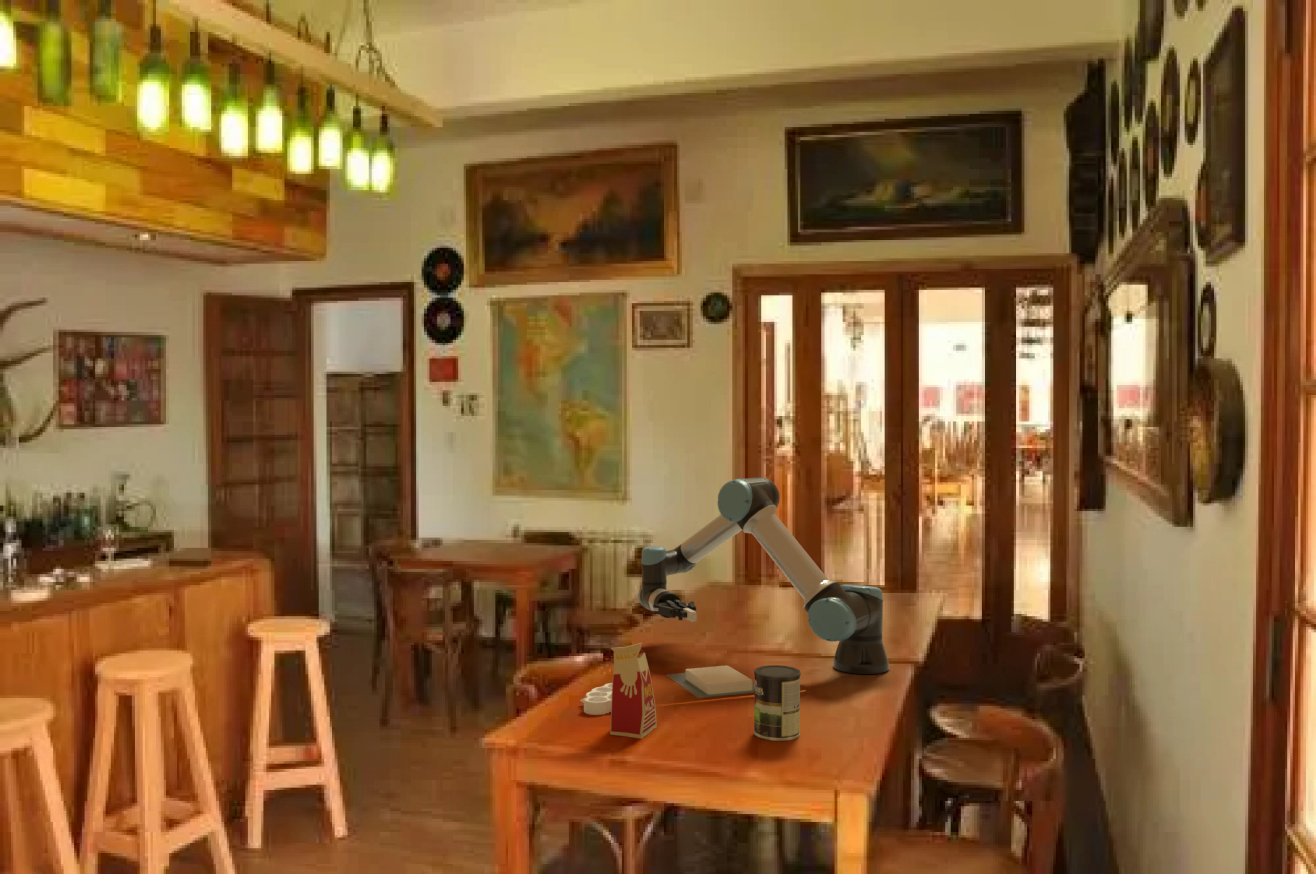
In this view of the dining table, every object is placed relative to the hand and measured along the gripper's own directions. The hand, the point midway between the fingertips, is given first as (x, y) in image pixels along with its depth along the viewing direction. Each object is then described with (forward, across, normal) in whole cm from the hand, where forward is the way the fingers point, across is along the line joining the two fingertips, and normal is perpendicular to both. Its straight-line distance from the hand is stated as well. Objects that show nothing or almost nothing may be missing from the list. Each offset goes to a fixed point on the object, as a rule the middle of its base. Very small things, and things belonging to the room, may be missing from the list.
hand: (693, 616), depth 280 cm
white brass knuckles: (+22, +30, -16) cm, 41 cm away
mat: (+13, 0, -16) cm, 20 cm away
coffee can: (+56, +2, -17) cm, 58 cm away
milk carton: (+43, +32, -16) cm, 56 cm away
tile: (+9, 0, -14) cm, 16 cm away
